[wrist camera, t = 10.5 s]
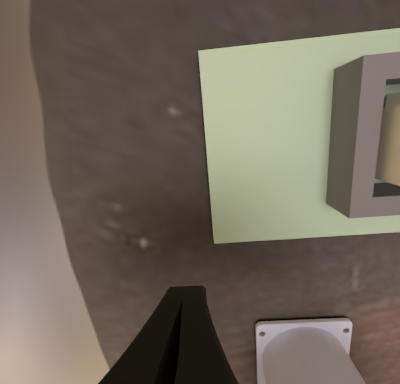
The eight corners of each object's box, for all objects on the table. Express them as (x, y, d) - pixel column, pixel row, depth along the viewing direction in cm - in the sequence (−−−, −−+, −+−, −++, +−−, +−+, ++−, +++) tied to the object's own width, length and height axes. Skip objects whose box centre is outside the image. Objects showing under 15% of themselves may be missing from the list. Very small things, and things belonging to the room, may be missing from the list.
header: (441, 224, 17) (499, 248, 14) (213, 238, 18) (215, 264, 15) (482, 23, 14) (574, -12, 10) (198, 54, 15) (195, 32, 11)
